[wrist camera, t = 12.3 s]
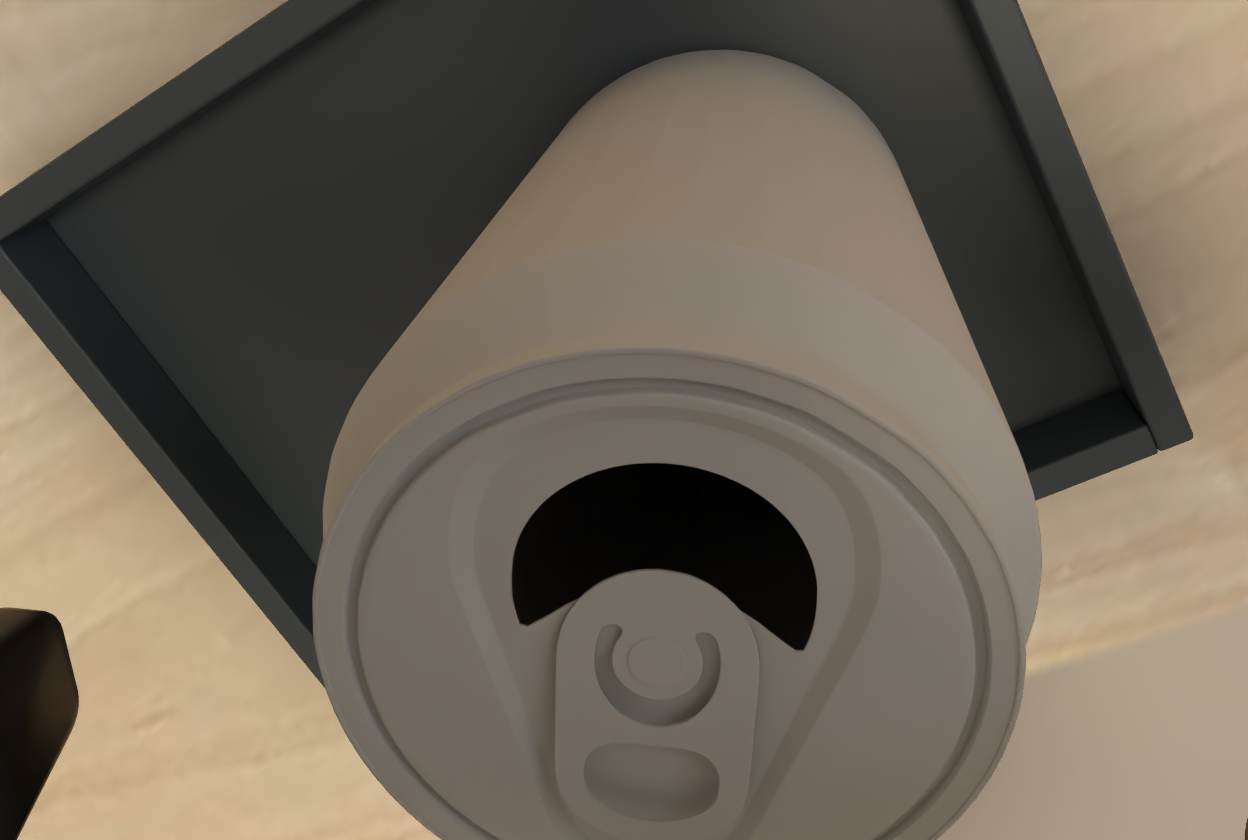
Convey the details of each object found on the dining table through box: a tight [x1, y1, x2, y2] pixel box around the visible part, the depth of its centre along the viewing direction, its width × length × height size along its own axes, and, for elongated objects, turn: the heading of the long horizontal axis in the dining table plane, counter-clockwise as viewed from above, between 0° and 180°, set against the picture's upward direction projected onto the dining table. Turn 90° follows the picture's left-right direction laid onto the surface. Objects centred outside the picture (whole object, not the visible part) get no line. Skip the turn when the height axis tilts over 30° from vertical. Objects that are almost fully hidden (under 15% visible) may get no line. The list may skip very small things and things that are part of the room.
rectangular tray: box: [0, 0, 1193, 689], centre depth 20 cm, size 17×13×2 cm
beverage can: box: [312, 50, 1042, 840], centre depth 14 cm, size 6×6×12 cm
